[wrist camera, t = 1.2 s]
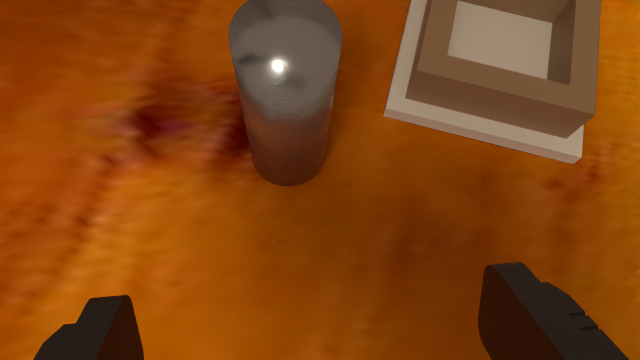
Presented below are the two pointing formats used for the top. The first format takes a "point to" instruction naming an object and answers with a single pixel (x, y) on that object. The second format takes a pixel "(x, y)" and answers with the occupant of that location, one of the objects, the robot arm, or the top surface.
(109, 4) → the top surface
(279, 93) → the axle
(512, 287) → the robot arm
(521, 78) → the cradle
